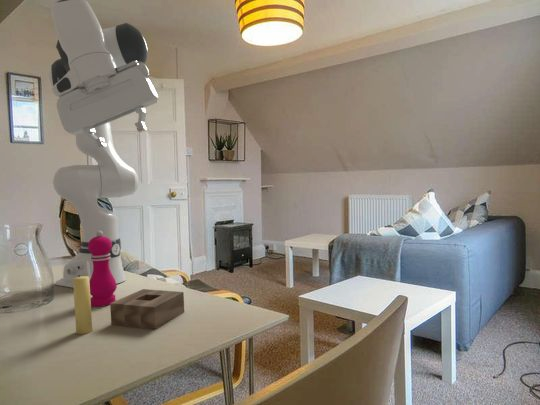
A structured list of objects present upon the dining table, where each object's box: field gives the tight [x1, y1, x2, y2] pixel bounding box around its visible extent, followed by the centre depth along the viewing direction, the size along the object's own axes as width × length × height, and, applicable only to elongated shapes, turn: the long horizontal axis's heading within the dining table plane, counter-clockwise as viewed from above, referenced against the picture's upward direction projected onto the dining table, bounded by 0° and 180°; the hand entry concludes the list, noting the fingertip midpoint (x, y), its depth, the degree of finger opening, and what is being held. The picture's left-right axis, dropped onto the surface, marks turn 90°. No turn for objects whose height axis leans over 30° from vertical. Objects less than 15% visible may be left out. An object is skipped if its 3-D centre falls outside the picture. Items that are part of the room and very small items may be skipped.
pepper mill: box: [88, 231, 117, 308], centre depth 106 cm, size 7×7×20 cm
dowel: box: [73, 276, 93, 335], centre depth 86 cm, size 3×3×12 cm
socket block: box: [109, 288, 185, 330], centre depth 94 cm, size 12×12×5 cm
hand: (122, 139), depth 81 cm, fingers open, 8 cm apart
